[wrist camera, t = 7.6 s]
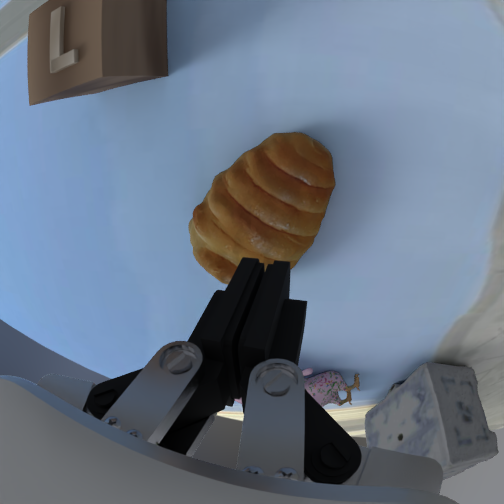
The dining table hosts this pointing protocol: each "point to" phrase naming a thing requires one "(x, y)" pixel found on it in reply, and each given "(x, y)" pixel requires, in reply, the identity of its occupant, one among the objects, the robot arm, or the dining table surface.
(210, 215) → the pastry
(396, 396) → the incense holder
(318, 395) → the rabbit figure
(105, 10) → the lettered block
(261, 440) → the robot arm
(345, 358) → the dining table surface
